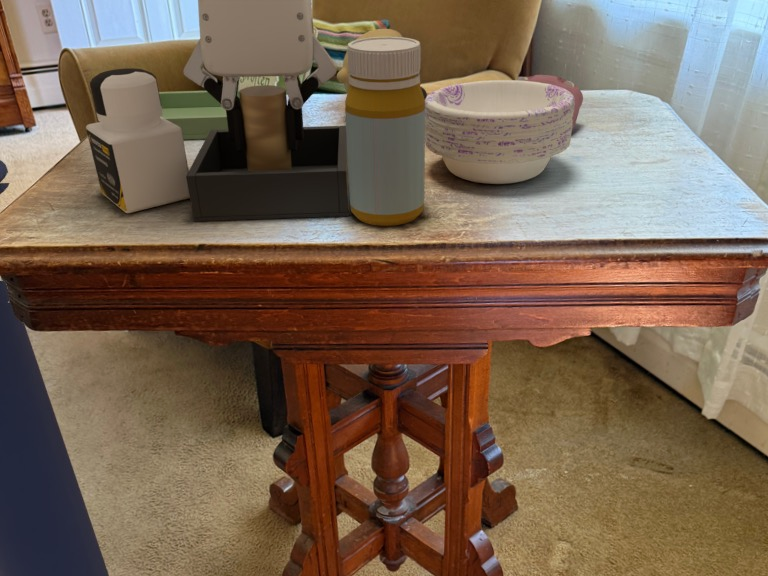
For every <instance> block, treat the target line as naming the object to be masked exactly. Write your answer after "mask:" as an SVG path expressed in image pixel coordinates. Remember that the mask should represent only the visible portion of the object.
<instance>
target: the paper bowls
mask: <svg viewBox="0 0 768 576" xmlns="http://www.w3.org/2000/svg"><path fill="white" fill-rule="evenodd" d="M574 105H575V102H574V96H573V95H572V93H570V92H569V91H568V90H566V89H564V88H561V87H558V86H555V85H551V84H545V83H539V82H531V81H519V80H516V79H515V80H513V79H495V80H494V79H492V80H490V79H489V80H479V81H478V80H477V81H468V82H461V83H456V84H450V85H447V86H443V87H441V88H438V89H436V90H433V91H432V92H430V93H427V97H426V99H425V147H426V148H427V149H428V150H429V151H430V152H431V153H433V154H435V155H437V156H441V159H442V160H443V163H444V165H445V166H446V168H447V169H448V171H449V172H450V173H451V174H453V175H454V176H456V177H457V178H459V179H462V180H464V181H465V180H466V181H470V182H473V183H480V184H486V185H487V184H489V185H502V184H504V185H505V184H514V183H515V184H517V183H520V182H525V181H529V180H530V179H531V180H532V179H533V178H536V177H537V176H539V175H540V174H541V173H542V172H543V171H544V170H545V169H546V168H547V165H548V164H549V162H550V160H551V158H552V157H553V156H556V155H559V154H561V153H563V152H565V151H566V150H567V149H568V148H569V147H570V145H571V140H572V132H573V129H572V122H573V120H572V118H573V113H574Z"/></svg>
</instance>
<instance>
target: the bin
mask: <svg viewBox="0 0 768 576" xmlns="http://www.w3.org/2000/svg"><path fill="white" fill-rule="evenodd" d="M303 131H304V139H303V140H298V144H297V150H296V151H291V150H290V151H291V164H292V170H270V171H248V167H247V158H246V148H245V151H243V152H237V149H236V141H230V139H229V131H228V130H210V132H209V134H208V136H207V138H206V139H204V141H203V144H202V145H201V147H200V148H199V151H198V153H197V154H196V157H195V159H194V161H193V162H192V164H191V166H190V168H189V172H188V174H187V175H186V179H187V185H188V190H189V196H190V198H189V201H190V207H191V213H192V219H193V222H216V221H218V222H219V221H220V222H221V221H243V220H244V221H246V220H247V221H249V220H270V219H271V220H273V219H274V220H275V219H277V220H278V219H299V218H300V219H302V218H331V217H332V218H333V217H334V218H335V217H349V178H348V157H347V137H346V125H324V126H323V125H322V126H321V125H320V126H303Z"/></svg>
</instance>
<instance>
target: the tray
mask: <svg viewBox="0 0 768 576" xmlns="http://www.w3.org/2000/svg"><path fill="white" fill-rule="evenodd" d="M240 90H241V89H238V97H239V98H240V93H239V92H240ZM159 95H160V101H161V106H162V112H163V114H162V116H160V117H162V118H164V119H166V120H168V121H170V122H172V123H173V124H175V125H177V126H179V127H180V128H181V130H182V135H183V141H185V140H206V138H207V136H208V134H209V132H210V130H228V123H227V115H226V110H225V109H223V107H222V106H221V104H220V103H219V102H218V101H217V100H216V99H215V98H214V97H213V96H211V95H210V94H209V93H208V92H207V91H206V90H184V91H183V90H182V91H181V90H179V91H159Z"/></svg>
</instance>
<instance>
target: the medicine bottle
mask: <svg viewBox="0 0 768 576" xmlns="http://www.w3.org/2000/svg"><path fill="white" fill-rule="evenodd" d="M157 79H158V78H157V77H156V75H154V73H152V72H150V71H148V70H145V69H142V68H134V67H133V68H132V67H130V68H116V69H109V70H106V71H103V72H99V73H98V74H96V75H95V76H94V77H93V78H91V80H90V82H89V87H90V93H91V95H92V101H93V104H94V109H95V112H96V113H95V114H96V117H97V120H98V121H97V122H93V123H89V124H87V125H86V126H85V131H86V134H87V139H88V142H89V147H90V151H91V155H92V159H93V163H94V167H95V171H96V175H97V179H98V183H99V187H100V192H101V194H102V195H103V196H104V197H106V199H108V200H109V201H111V202H112V204H114V205H115V206H117V207H118V208H119V209H120V210H122V211H123V212H124V213H125V214H132V213H135V212H139V211H140V212H141V211H143V210H147V209H151V208H154V207H155V208H156V207H160V206H164V205H168V204H172V203H176V202H180V201H184V200H187V199H190V196H189V190H188V185H187V179H186V175H187V174H188V172H189V170H190V168H189V163H188V158H187V154H186V146H185V140H183V135H182V130H181V128H180V127H179V126H177V125H175V124H173V123H172V122H170V121H168V120H166V119H164V118H162V117H160V116H162V114H163V112H162V106H161V101H160V95H159V92H160V90H159V85H158V80H157Z"/></svg>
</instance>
